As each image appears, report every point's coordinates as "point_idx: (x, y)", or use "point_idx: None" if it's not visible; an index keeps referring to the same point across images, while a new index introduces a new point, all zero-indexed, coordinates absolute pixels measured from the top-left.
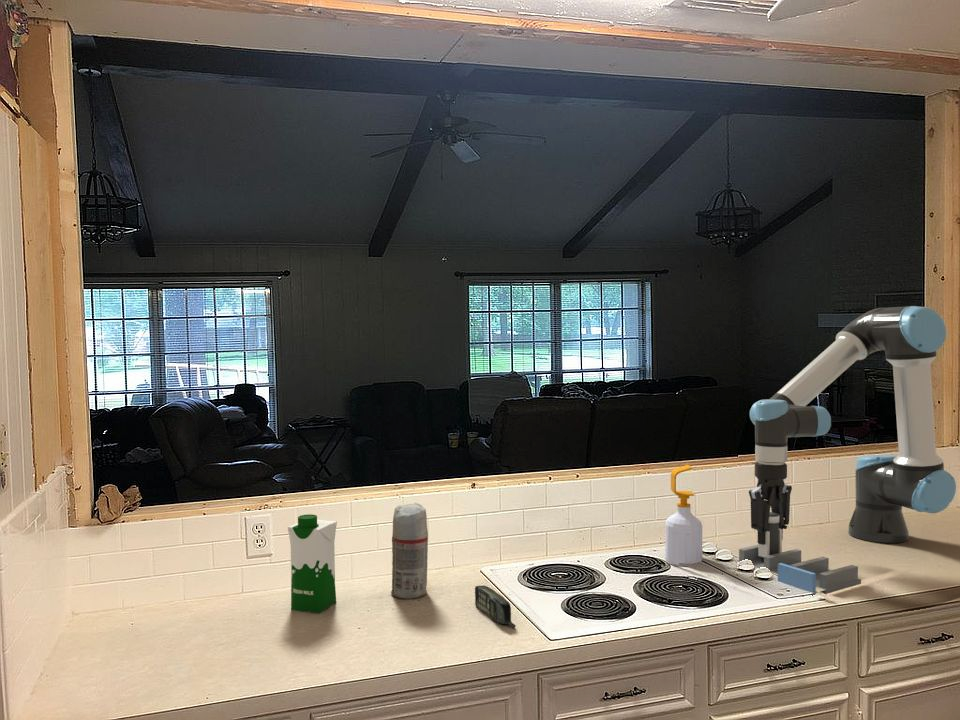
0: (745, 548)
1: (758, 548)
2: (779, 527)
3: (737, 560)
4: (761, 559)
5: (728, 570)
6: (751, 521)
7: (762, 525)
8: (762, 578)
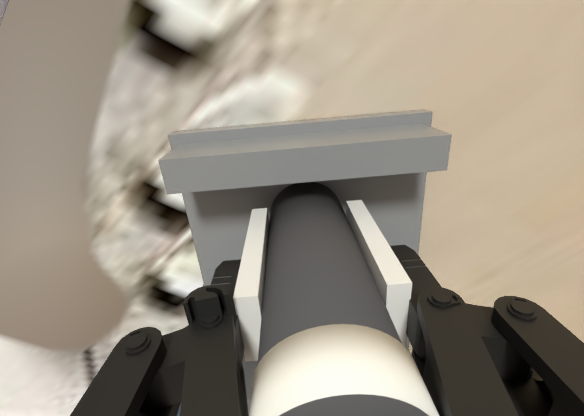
0: (201, 169)
1: (249, 226)
2: (409, 339)
3: (177, 135)
4: (280, 194)
5: (91, 177)
6: (88, 395)
7: (264, 332)
8: (166, 295)
